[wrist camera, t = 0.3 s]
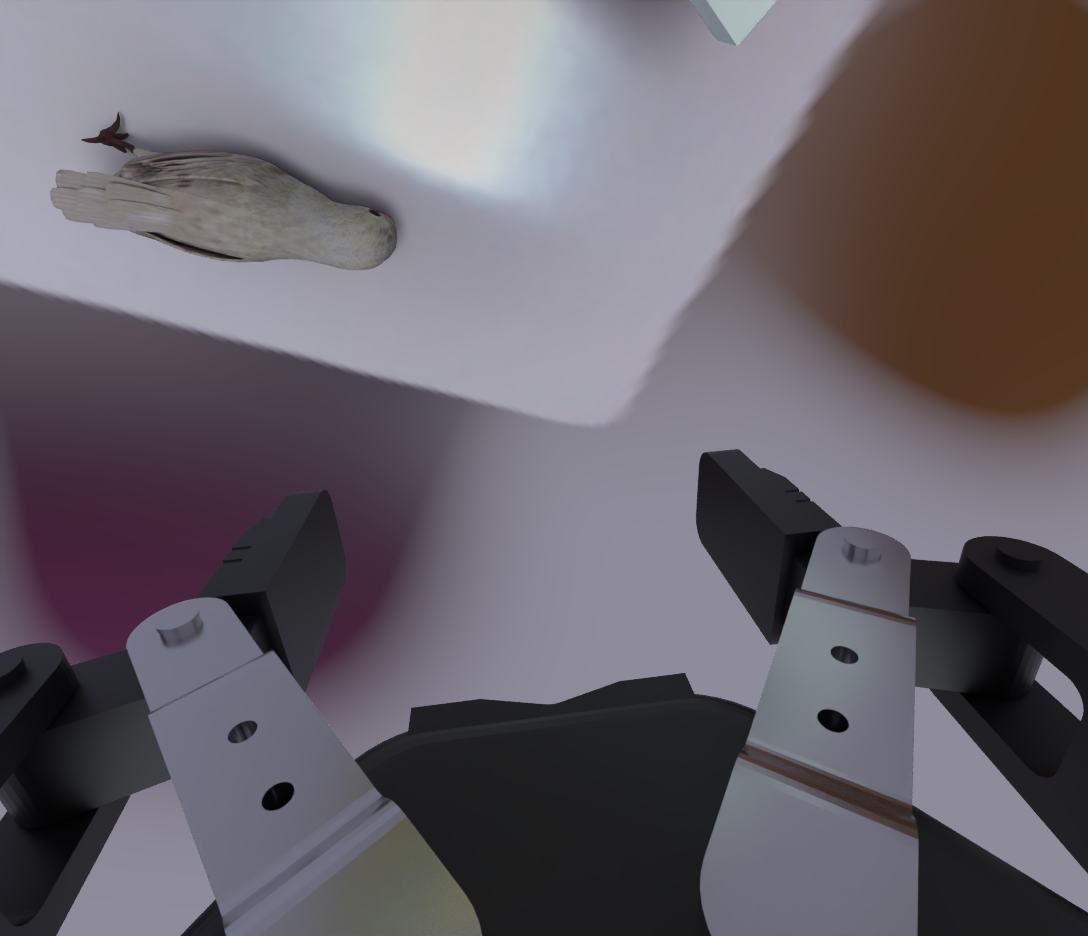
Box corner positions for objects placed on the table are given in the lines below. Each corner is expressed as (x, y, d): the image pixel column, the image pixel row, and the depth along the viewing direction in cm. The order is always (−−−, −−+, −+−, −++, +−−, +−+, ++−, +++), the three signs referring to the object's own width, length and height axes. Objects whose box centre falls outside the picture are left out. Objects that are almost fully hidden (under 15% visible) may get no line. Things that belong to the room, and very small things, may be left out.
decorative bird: (391, 265, 39) (388, 317, 33) (115, 202, 34) (57, 252, 28) (403, 183, 36) (401, 227, 30) (98, 100, 30) (29, 134, 25)
